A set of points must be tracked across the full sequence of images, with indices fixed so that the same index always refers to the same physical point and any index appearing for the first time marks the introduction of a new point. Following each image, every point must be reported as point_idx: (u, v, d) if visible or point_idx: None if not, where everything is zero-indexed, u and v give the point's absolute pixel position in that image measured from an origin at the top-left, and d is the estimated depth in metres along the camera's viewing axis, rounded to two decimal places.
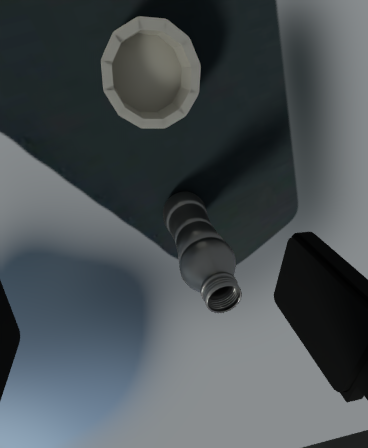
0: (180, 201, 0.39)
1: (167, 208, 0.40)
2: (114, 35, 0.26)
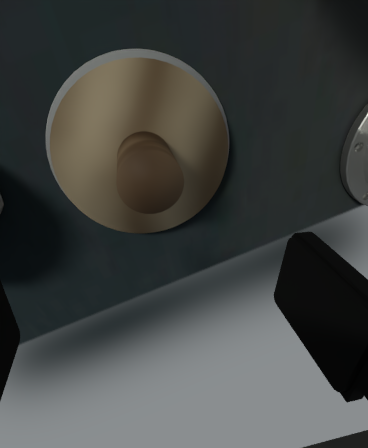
0: None
1: None
2: None
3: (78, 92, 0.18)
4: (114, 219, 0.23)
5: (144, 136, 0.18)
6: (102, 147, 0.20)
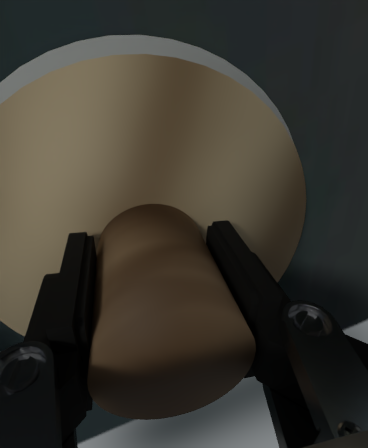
0: None
1: None
2: None
3: (3, 134, 0.08)
4: None
5: (153, 226, 0.08)
6: (66, 237, 0.10)
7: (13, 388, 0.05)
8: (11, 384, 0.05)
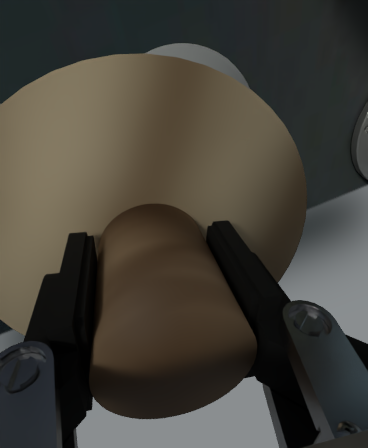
0: None
1: None
2: None
3: (4, 133, 0.08)
4: None
5: (155, 226, 0.08)
6: (67, 237, 0.10)
7: (13, 389, 0.05)
8: (11, 384, 0.05)
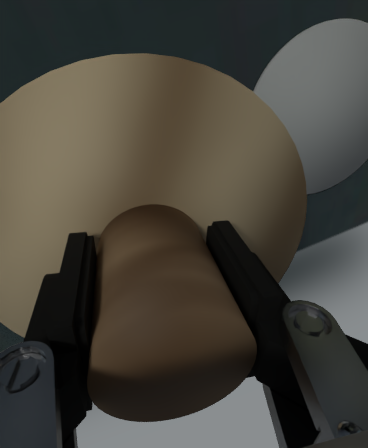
0: None
1: None
2: None
3: (2, 134, 0.08)
4: None
5: (154, 227, 0.08)
6: (66, 238, 0.10)
7: (13, 389, 0.05)
8: (11, 384, 0.05)
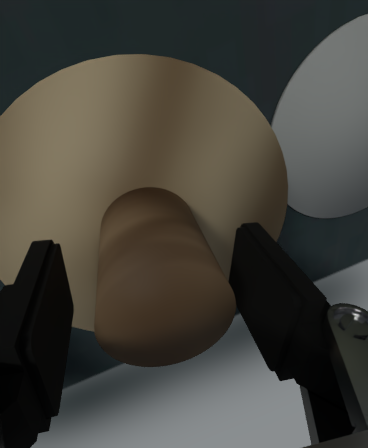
0: None
1: None
2: None
3: (20, 123, 0.09)
4: None
5: (150, 204, 0.10)
6: (73, 217, 0.11)
7: None
8: None
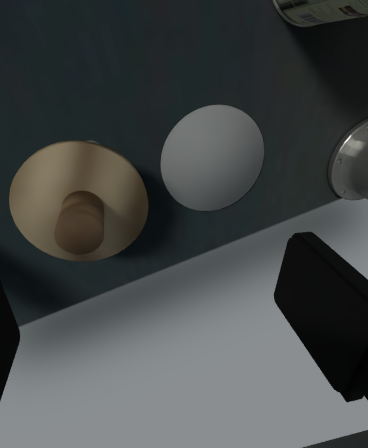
0: None
1: None
2: None
3: (30, 166, 0.25)
4: (62, 251, 0.30)
5: (79, 197, 0.26)
6: (50, 201, 0.27)
7: None
8: None
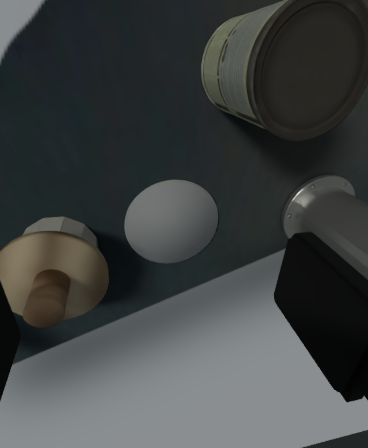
0: None
1: None
2: None
3: (4, 255, 0.30)
4: None
5: (45, 278, 0.31)
6: (23, 279, 0.32)
7: None
8: None
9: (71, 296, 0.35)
